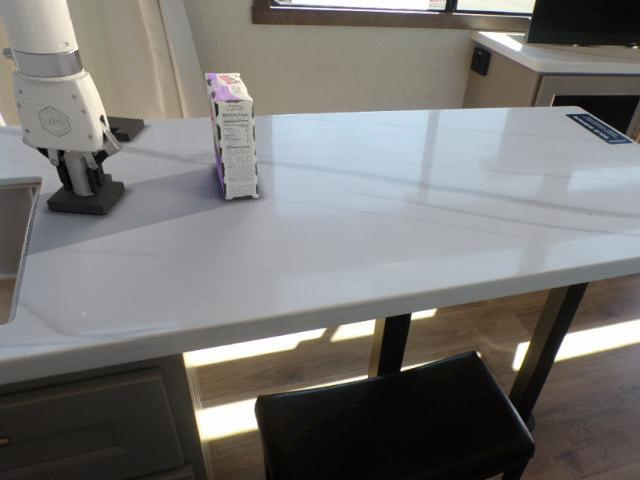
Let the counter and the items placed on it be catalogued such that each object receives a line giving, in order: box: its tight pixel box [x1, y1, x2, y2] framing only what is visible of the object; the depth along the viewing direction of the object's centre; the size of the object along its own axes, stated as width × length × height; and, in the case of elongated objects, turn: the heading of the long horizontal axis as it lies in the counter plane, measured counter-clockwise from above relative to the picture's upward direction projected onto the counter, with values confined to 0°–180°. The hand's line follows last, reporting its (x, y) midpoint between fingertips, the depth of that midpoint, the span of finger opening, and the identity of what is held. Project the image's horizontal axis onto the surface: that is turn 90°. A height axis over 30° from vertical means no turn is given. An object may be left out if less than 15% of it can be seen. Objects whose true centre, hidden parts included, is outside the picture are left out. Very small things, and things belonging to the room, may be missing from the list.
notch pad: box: [106, 115, 146, 142], centre depth 102 cm, size 8×8×2 cm
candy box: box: [204, 72, 260, 201], centre depth 86 cm, size 14×6×16 cm, turn 21°
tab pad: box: [46, 151, 126, 215], centre depth 80 cm, size 8×10×8 cm
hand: (85, 187), depth 80 cm, fingers closed on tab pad, 3 cm apart
